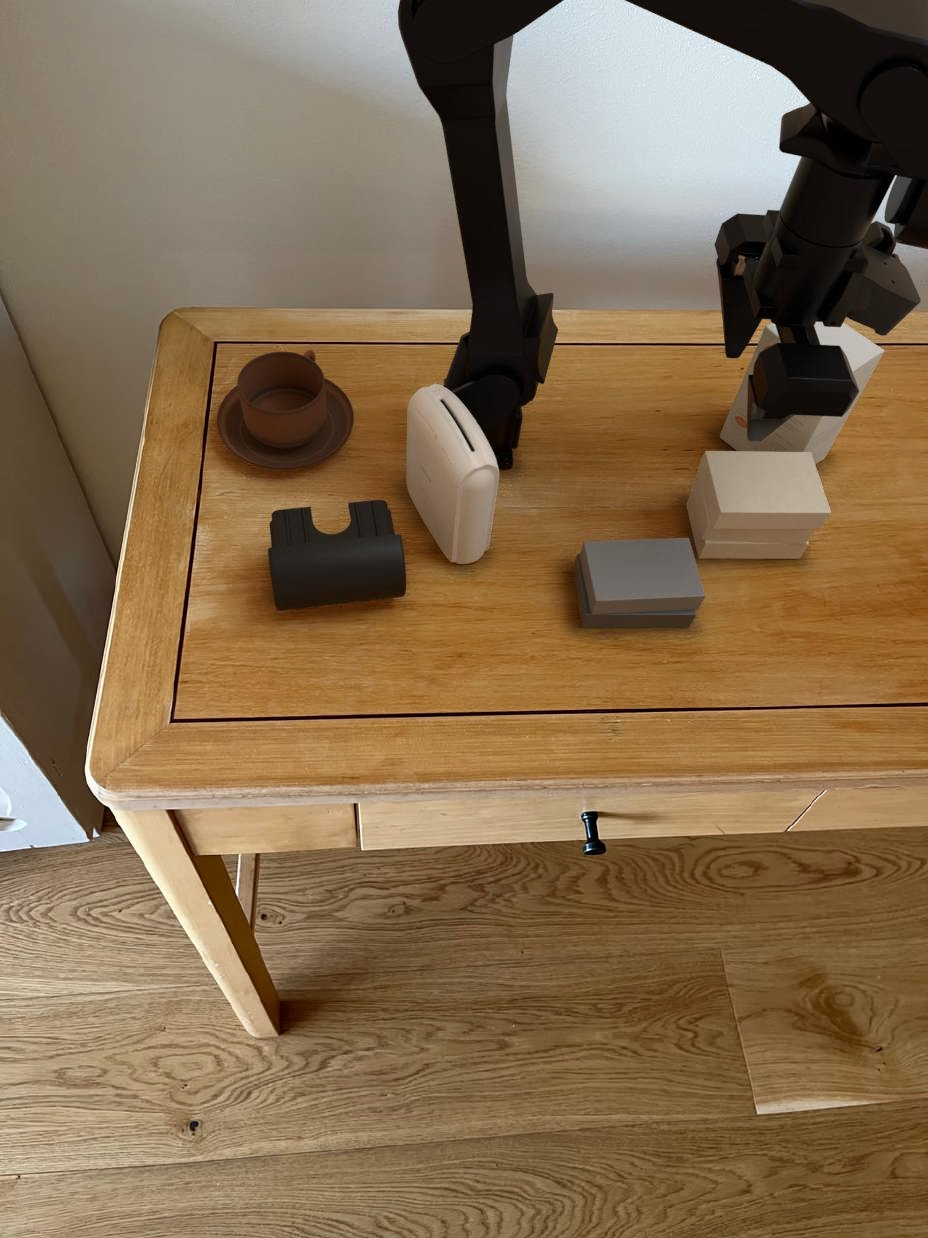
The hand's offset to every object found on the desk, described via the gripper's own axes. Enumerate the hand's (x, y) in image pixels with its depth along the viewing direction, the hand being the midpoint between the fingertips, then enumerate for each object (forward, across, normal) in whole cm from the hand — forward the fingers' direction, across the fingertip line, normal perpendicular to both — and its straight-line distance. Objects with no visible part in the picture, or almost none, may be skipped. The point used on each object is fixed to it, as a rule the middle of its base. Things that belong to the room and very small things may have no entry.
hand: (742, 396), depth 74 cm
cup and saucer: (+12, +6, +37) cm, 40 cm away
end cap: (+12, -11, +32) cm, 36 cm away
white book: (+7, -4, -3) cm, 9 cm away
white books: (+12, -4, -3) cm, 13 cm away
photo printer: (+12, -4, +23) cm, 26 cm away
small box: (+12, +6, -8) cm, 15 cm away
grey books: (+12, -12, +8) cm, 18 cm away
